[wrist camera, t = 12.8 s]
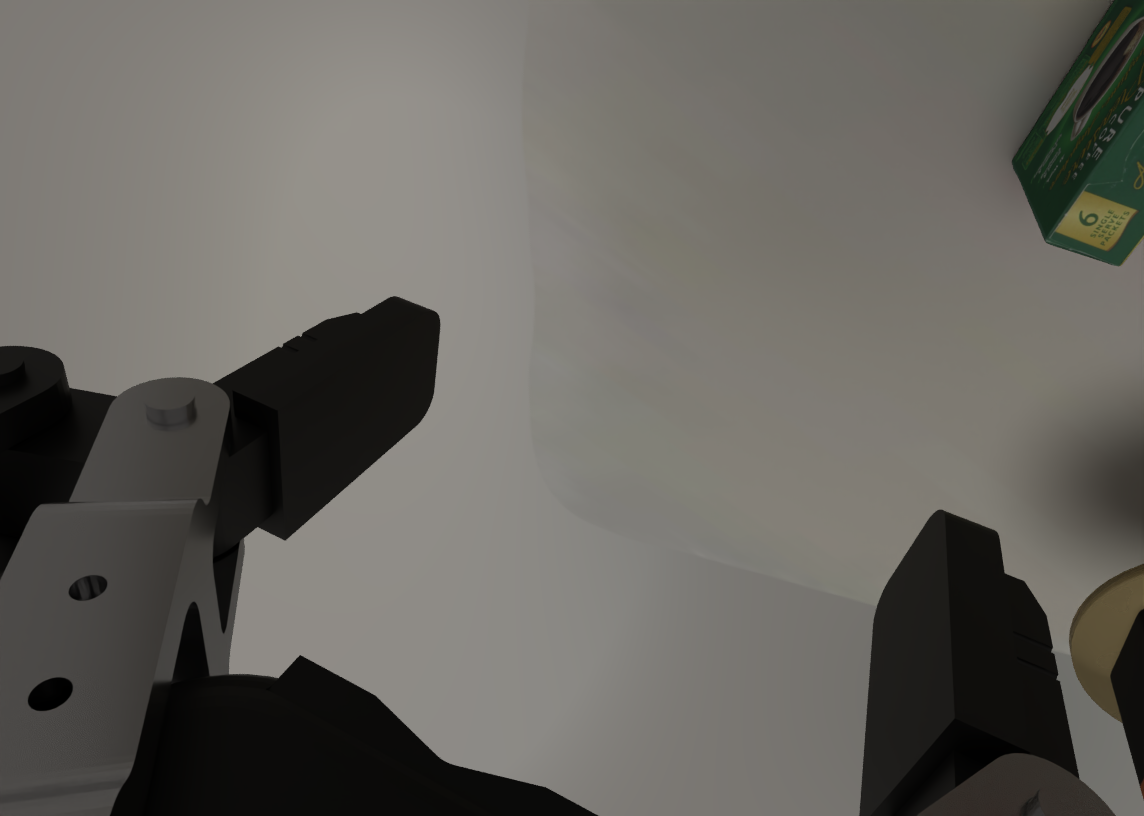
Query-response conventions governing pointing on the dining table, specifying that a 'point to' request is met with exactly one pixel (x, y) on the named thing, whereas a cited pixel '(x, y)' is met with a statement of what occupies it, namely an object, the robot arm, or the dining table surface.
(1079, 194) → the coffee box
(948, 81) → the dining table surface
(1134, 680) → the battery
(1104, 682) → the balance
